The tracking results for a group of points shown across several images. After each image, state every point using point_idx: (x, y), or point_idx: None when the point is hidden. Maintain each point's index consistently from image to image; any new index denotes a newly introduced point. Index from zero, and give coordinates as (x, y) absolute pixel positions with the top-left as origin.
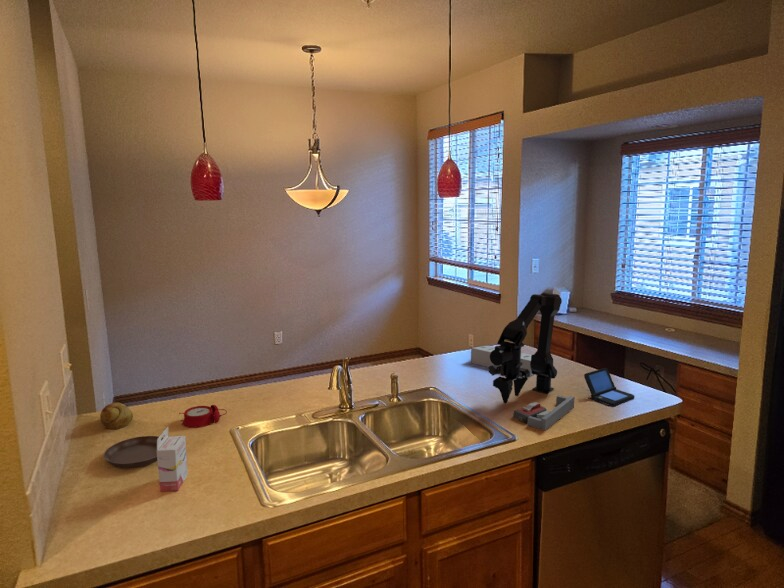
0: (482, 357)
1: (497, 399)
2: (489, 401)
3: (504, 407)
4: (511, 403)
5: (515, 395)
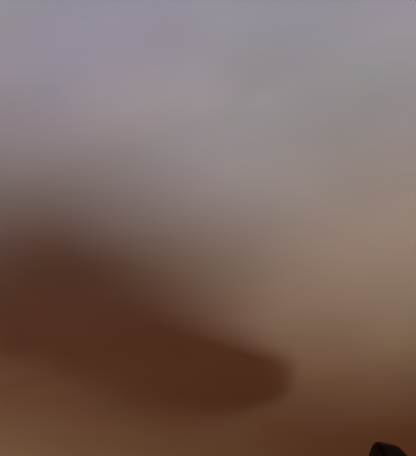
0: None
1: (262, 121)
2: (99, 25)
3: (28, 309)
4: (212, 356)
5: (374, 453)
